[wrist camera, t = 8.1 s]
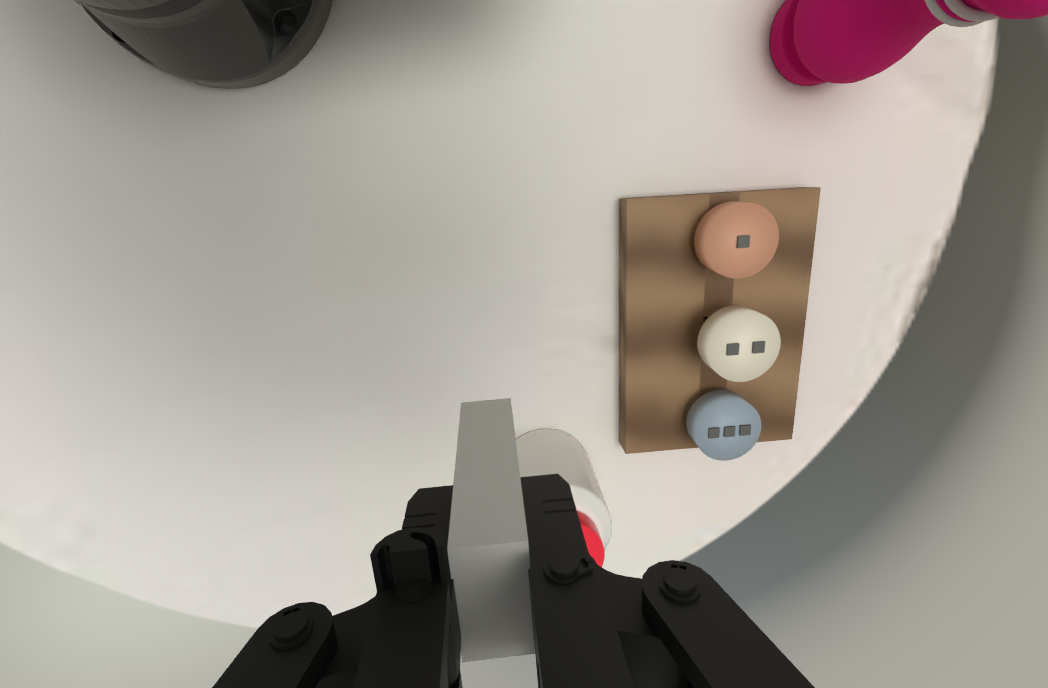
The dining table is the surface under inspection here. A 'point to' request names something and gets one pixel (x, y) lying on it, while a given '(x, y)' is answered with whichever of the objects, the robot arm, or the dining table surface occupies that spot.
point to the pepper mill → (870, 32)
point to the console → (704, 313)
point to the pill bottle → (569, 480)
